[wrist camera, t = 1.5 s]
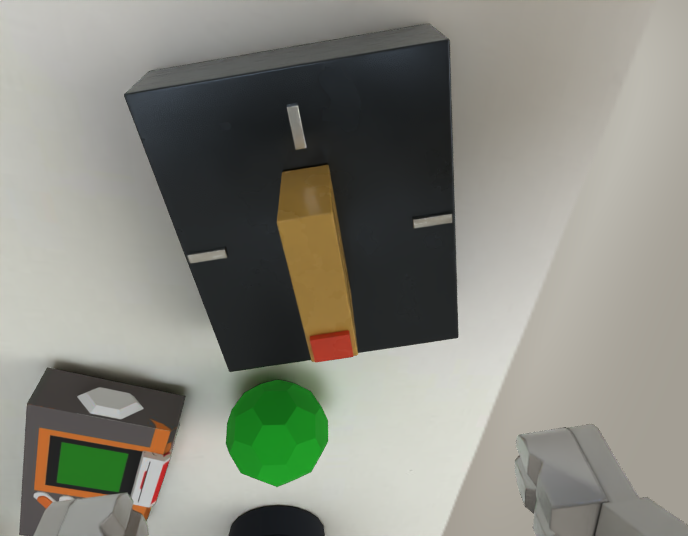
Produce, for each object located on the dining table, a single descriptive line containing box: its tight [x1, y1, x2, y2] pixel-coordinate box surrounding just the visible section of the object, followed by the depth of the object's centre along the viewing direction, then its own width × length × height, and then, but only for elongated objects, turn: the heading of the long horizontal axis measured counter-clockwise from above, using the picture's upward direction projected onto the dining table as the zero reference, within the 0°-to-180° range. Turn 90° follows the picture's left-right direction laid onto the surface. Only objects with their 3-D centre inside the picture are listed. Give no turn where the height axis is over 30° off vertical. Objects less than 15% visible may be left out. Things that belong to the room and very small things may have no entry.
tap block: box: [124, 24, 458, 372], centre depth 20 cm, size 12×10×3 cm
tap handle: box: [277, 165, 358, 362], centre depth 17 cm, size 6×2×4 cm, turn 8°
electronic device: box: [19, 368, 186, 536], centre depth 29 cm, size 7×3×15 cm
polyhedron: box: [226, 380, 328, 487], centre depth 26 cm, size 5×5×5 cm
